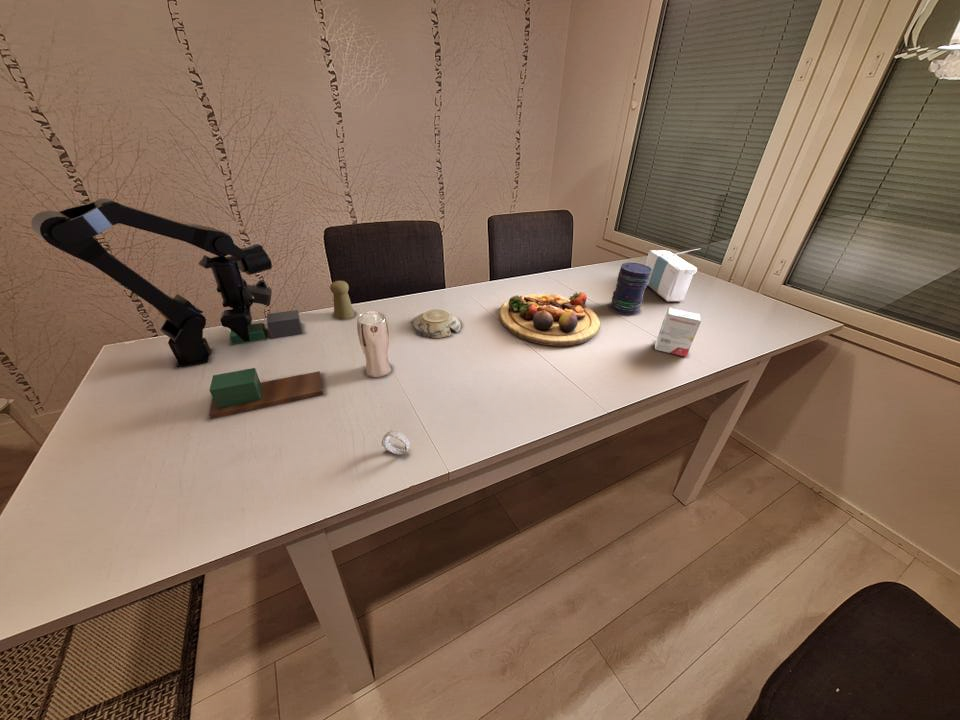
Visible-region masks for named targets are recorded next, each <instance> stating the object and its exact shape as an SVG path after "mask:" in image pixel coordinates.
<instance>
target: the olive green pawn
mask: <svg viewBox="0 0 960 720" xmlns="http://www.w3.org/2000/svg"><path fill="white" fill-rule="evenodd" d="M329 289H330V291H331V294H332V296H333V297H332V298H333V316H334V318H335V319H336V320H341V321H343V320H344V321H345V320H350V319H352V318H353V317H354V316H355V312H354V308H353V305H352V302H351V298H350V296H349V293H348V292H349V289H350V287H349V283H347V281H345V280H335V281H333V282H331V284H330V286H329Z"/></svg>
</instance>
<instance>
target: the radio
mask: <svg viewBox="0 0 960 720" xmlns="http://www.w3.org/2000/svg"><path fill="white" fill-rule="evenodd" d="M696 250H702V248H701V247H698V248H694V249H690V250H685V251H680V252H676V253H673V252H672V251H670V250H663V249H662V250H661V249H660V250H657V249H655V250H654V249H653V250H651V249H650V250H649V251H648V253H647V257H646V259H645V263H644V265H646V266H648V267H650V268H651V269H652V271H651V274H650V279H649V282H648V285H647V287H649V288H651V290H653V291H654V292H655V293H657V295H659V296H660V297H661V298H663V300H665V301H666V302H667V303H668V302H683V301H684V300H685V298H686V294H687V292H688V290H689V287H690V284H691V282H692V279H693V277H694V275H695V274H696V273H697V271H698V268H697V267H696V266H694V265H693V264H691V263H689V262H688V261H686V260H684V259H683V258H681V257H679V256H678V255H681V254H686V253H689V252H693V251H696Z"/></svg>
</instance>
